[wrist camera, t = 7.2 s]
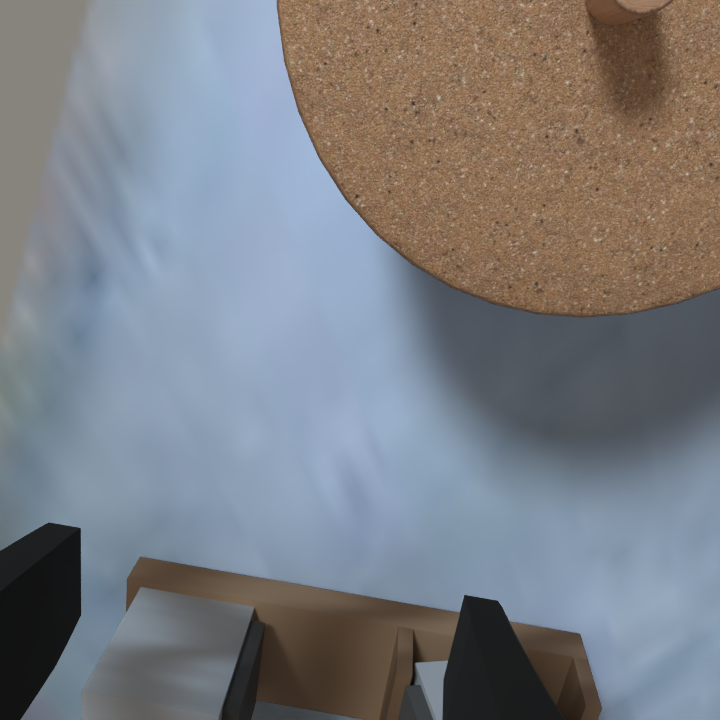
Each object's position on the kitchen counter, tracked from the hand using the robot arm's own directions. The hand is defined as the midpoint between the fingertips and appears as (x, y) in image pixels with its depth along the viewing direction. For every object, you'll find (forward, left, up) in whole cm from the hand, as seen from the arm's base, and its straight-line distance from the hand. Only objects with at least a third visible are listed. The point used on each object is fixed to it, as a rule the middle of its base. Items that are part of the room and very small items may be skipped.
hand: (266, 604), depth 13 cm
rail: (-2, +10, -10) cm, 14 cm away
